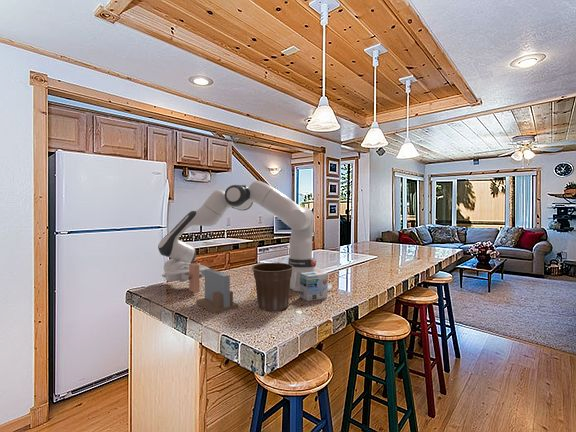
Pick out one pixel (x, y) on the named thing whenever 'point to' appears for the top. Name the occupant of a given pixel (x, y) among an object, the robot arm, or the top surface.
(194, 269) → the stub
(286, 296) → the plant pot
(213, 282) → the ticket holder
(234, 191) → the robot arm
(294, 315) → the top surface
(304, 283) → the light bulb box
